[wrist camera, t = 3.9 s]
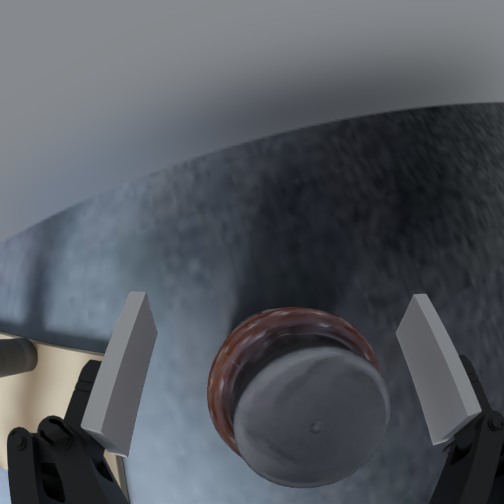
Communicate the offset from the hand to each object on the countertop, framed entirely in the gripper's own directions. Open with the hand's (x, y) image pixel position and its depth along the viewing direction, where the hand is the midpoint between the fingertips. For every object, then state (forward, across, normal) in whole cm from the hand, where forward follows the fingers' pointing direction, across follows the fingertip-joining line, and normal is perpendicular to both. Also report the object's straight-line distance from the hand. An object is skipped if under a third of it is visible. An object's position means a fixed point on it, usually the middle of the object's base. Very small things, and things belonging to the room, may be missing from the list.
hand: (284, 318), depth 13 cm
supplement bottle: (+2, 0, -5) cm, 5 cm away
